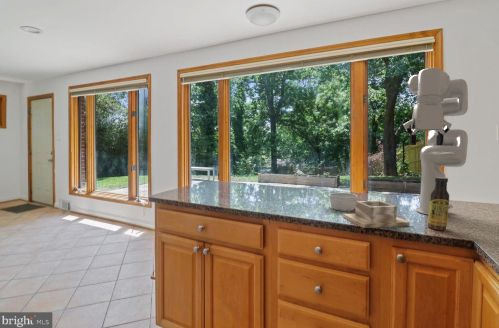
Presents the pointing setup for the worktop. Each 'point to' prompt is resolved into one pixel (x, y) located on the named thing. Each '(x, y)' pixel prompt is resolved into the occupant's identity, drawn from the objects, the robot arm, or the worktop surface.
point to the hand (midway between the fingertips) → (426, 145)
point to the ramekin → (343, 201)
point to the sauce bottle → (439, 205)
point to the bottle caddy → (375, 215)
